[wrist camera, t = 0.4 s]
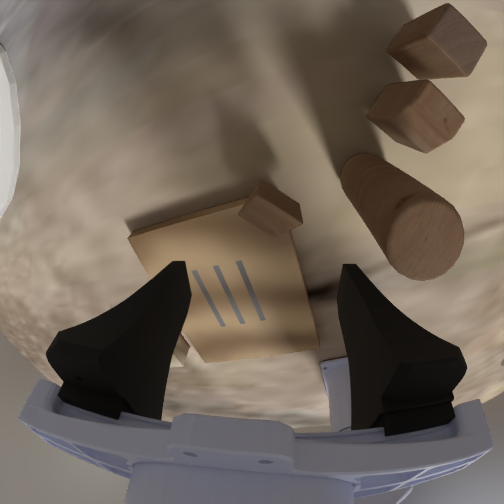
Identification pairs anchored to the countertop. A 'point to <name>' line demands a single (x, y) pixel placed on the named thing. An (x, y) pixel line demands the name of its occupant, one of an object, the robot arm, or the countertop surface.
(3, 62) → the dish
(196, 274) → the board
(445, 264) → the wooden block set
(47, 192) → the countertop surface
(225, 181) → the countertop surface
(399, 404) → the robot arm
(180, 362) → the block
